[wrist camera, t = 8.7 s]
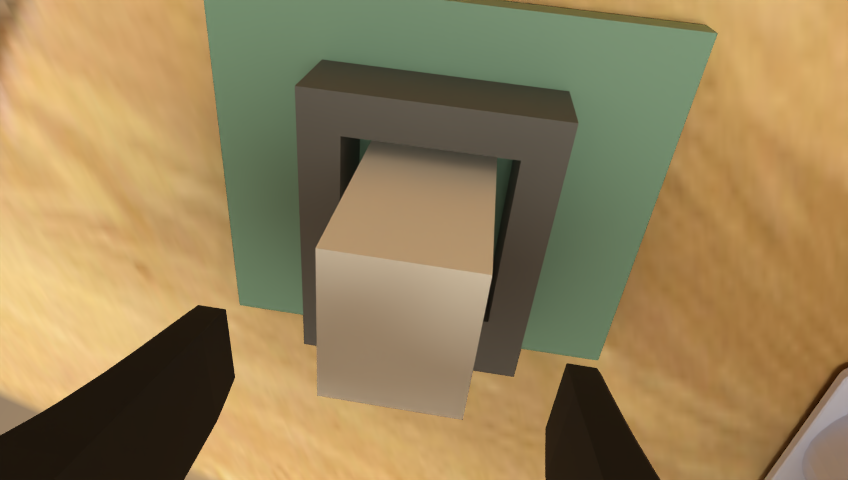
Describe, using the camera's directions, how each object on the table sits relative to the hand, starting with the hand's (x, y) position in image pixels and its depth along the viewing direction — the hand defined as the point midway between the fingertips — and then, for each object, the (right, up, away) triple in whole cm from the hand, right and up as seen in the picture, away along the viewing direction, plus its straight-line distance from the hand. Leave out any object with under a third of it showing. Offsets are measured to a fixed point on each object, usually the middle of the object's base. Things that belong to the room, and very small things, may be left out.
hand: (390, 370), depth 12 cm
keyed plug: (+1, +4, +6) cm, 8 cm away
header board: (+1, +5, +7) cm, 9 cm away
